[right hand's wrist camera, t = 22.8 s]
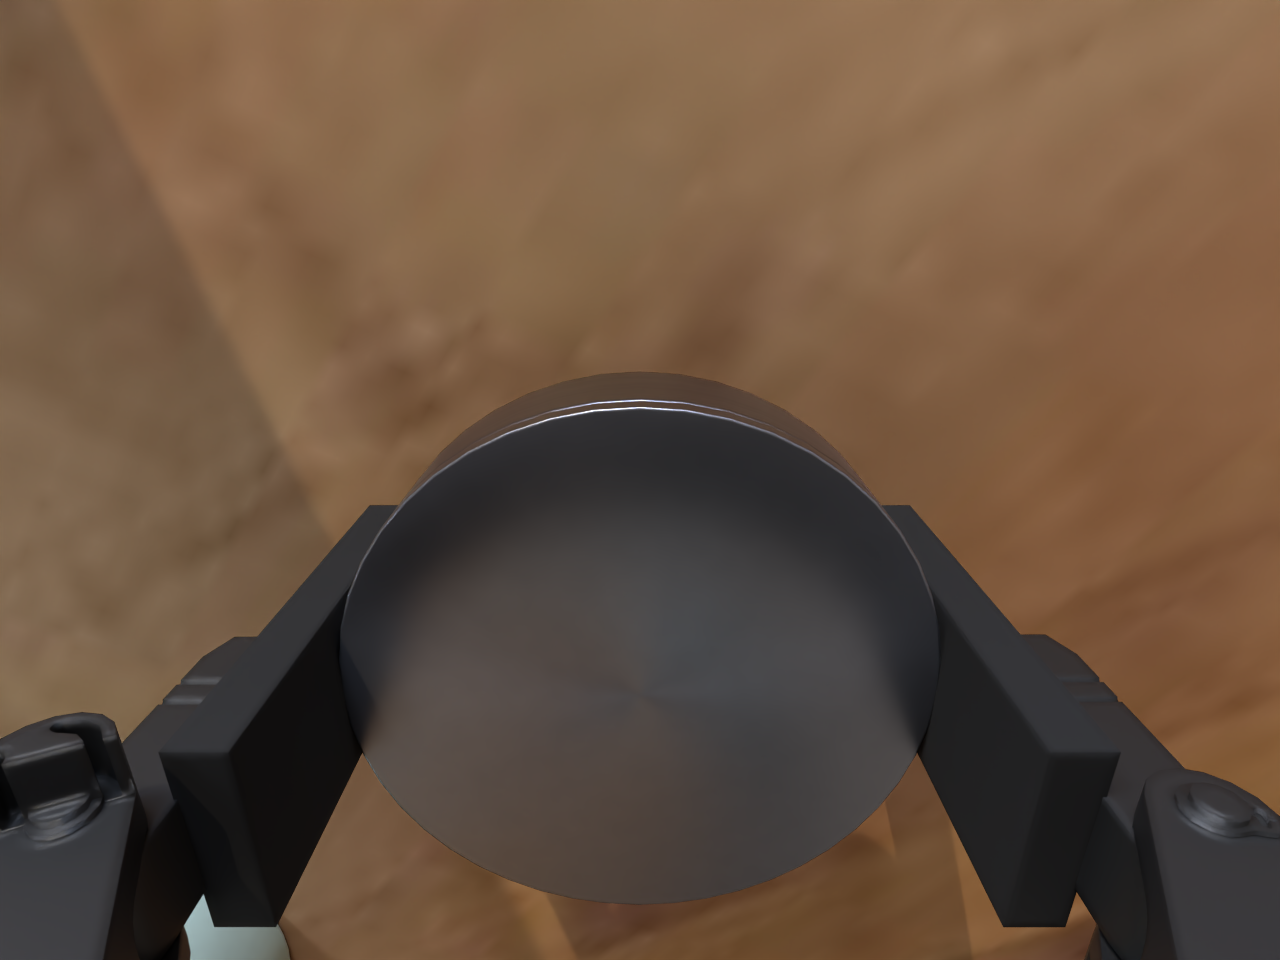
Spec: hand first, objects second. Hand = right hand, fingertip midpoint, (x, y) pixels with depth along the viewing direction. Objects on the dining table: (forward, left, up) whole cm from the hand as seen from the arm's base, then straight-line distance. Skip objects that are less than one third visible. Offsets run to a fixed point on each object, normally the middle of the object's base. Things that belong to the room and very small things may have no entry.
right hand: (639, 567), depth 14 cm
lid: (0, 0, +3) cm, 3 cm away
